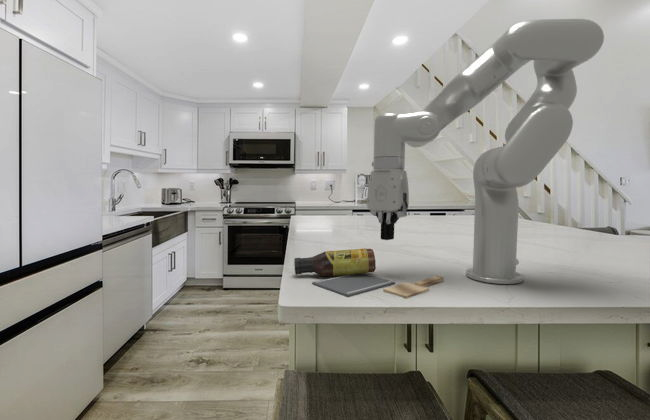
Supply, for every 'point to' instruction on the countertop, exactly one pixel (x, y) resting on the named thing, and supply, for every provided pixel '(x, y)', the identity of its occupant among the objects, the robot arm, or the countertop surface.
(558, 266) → the countertop surface
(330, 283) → the mat
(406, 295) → the turner
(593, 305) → the countertop surface
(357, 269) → the sauce bottle
